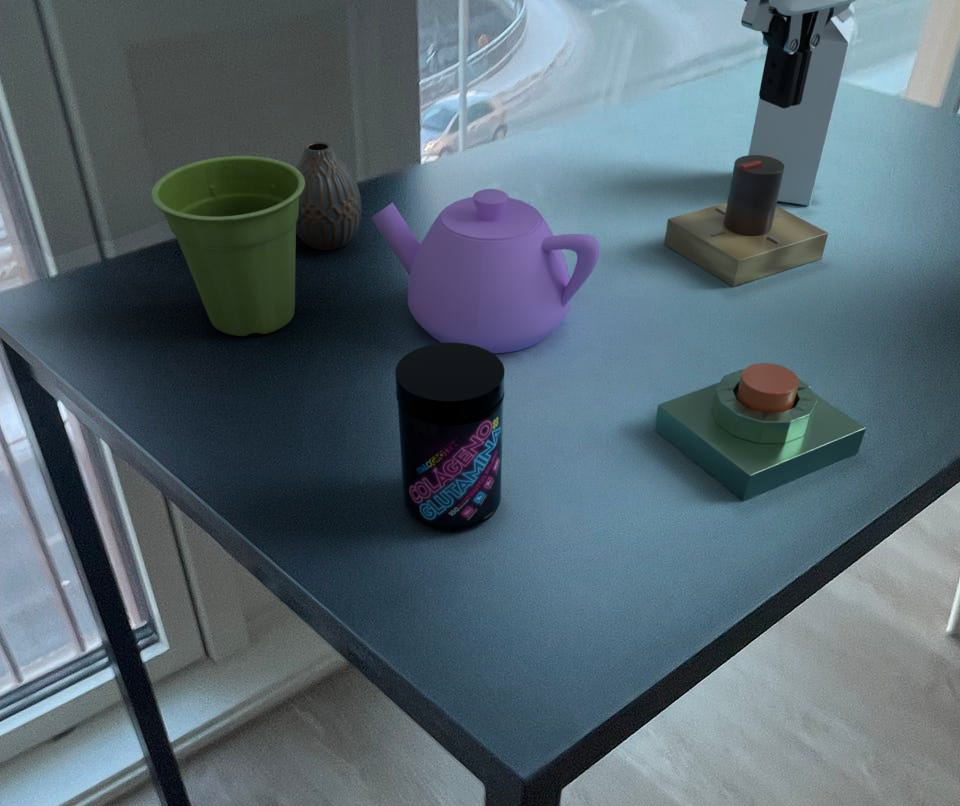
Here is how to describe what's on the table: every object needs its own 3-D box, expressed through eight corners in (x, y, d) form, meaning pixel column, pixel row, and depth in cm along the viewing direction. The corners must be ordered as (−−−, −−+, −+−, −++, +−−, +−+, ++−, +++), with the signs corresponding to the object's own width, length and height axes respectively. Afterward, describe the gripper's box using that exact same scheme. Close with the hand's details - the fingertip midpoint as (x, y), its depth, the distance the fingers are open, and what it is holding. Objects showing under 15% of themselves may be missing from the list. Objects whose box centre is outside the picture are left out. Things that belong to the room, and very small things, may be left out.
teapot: (411, 261, 94) (406, 142, 86) (615, 304, 89) (629, 181, 81) (339, 330, 85) (326, 203, 78) (561, 382, 80) (571, 252, 72)
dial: (749, 211, 96) (761, 147, 92) (781, 228, 94) (795, 164, 89) (713, 221, 95) (725, 157, 90) (745, 239, 92) (758, 174, 88)
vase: (302, 262, 94) (290, 165, 87) (284, 232, 98) (271, 137, 92) (373, 250, 96) (366, 154, 89) (352, 221, 100) (343, 127, 94)
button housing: (764, 388, 79) (775, 342, 77) (858, 452, 74) (873, 405, 71) (654, 429, 75) (661, 382, 73) (743, 501, 70) (755, 453, 67)
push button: (766, 378, 74) (771, 357, 73) (805, 404, 72) (811, 383, 70) (724, 394, 72) (729, 372, 71) (763, 421, 70) (768, 399, 69)
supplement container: (386, 521, 68) (375, 386, 60) (428, 466, 72) (423, 333, 65) (478, 547, 66) (479, 411, 59) (515, 488, 70) (521, 355, 63)
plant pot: (209, 280, 91) (184, 150, 83) (336, 291, 90) (322, 160, 82) (159, 346, 83) (125, 210, 75) (297, 360, 82) (278, 223, 74)
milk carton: (739, 198, 104) (780, -15, 91) (749, 172, 109) (789, -34, 95) (809, 207, 103) (861, -8, 89) (816, 180, 108) (866, -28, 94)
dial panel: (750, 219, 101) (755, 192, 99) (822, 258, 95) (829, 231, 93) (663, 244, 97) (667, 216, 95) (733, 287, 91) (738, 258, 89)
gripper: (800, -170, 64) (744, 135, 77) (953, -189, 70) (877, 98, 83) (718, -185, 68) (679, 106, 81) (869, -202, 74) (809, 72, 87)
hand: (779, 101), depth 82 cm, fingers closed
